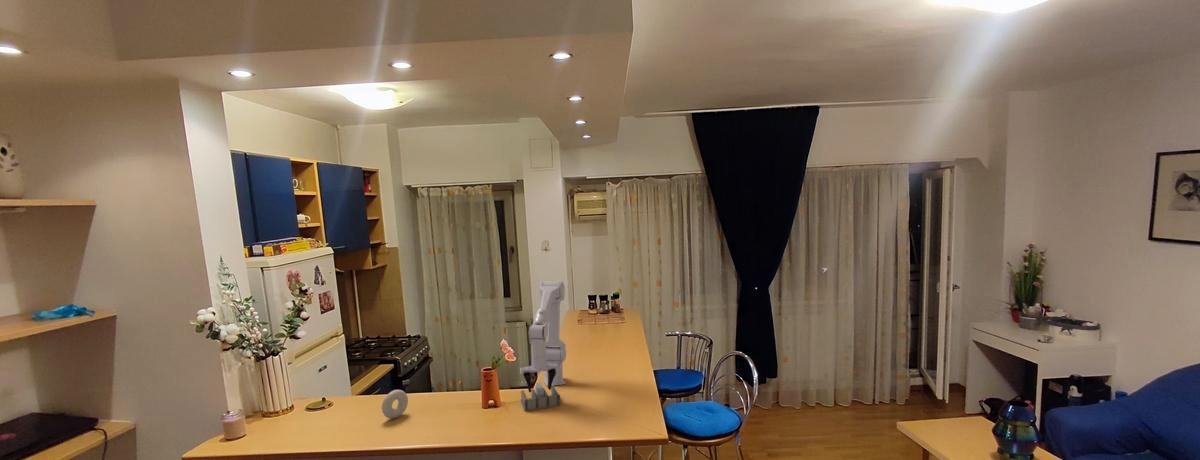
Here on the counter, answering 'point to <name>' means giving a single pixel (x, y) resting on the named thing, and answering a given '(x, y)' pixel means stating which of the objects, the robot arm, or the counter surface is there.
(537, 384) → the plate
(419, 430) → the counter surface
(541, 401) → the rack
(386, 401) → the donut
